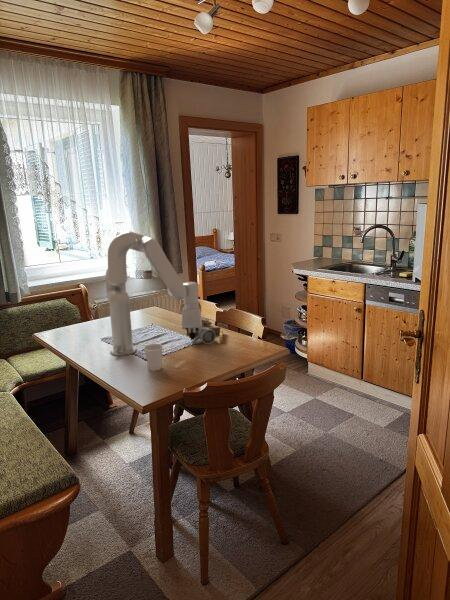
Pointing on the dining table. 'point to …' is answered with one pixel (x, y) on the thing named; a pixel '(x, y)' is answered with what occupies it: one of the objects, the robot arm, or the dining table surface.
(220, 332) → the trap box
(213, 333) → the ceramic mug
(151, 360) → the dixie cup
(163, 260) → the robot arm
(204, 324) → the tan boot
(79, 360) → the dining table surface
